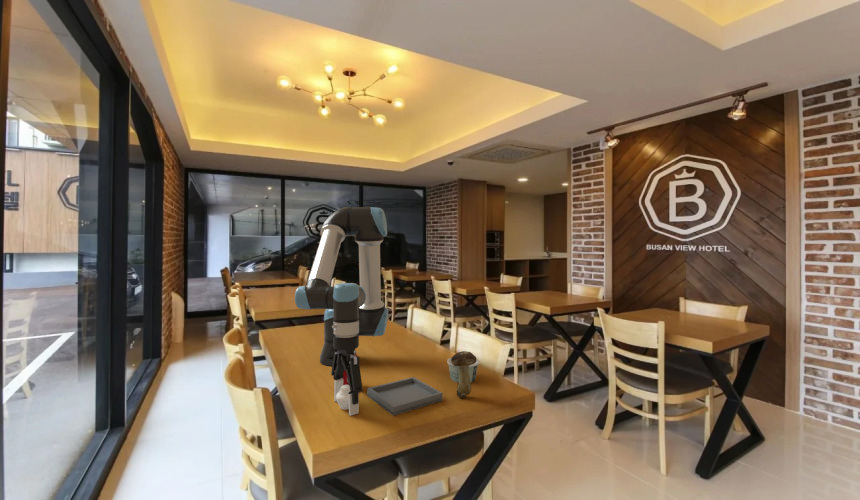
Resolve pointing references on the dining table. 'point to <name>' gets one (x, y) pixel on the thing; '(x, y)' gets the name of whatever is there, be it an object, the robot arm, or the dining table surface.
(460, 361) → the mushroom
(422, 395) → the serving tray
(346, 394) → the white swirled dome
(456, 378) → the food container
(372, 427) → the dining table surface
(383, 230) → the robot arm
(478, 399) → the dining table surface
